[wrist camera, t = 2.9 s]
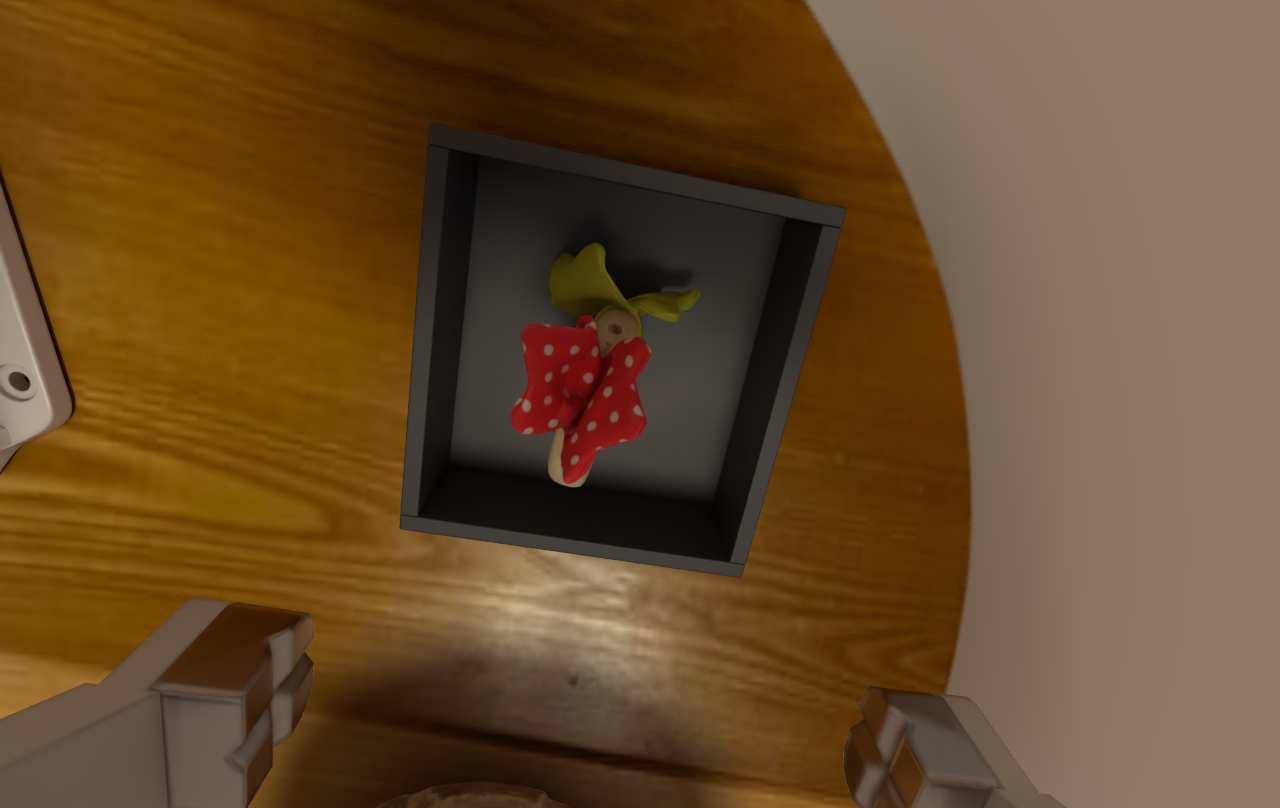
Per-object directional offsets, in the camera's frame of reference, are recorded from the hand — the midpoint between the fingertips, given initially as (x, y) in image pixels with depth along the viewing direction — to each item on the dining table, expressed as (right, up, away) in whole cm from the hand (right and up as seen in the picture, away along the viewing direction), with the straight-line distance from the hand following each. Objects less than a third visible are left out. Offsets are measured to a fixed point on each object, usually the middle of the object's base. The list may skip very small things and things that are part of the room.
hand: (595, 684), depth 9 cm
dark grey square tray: (-1, +7, +19) cm, 21 cm away
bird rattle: (-1, +7, +19) cm, 20 cm away
